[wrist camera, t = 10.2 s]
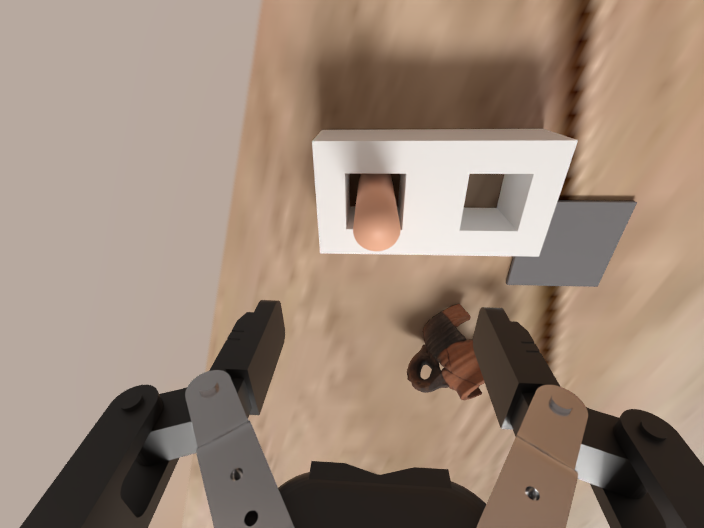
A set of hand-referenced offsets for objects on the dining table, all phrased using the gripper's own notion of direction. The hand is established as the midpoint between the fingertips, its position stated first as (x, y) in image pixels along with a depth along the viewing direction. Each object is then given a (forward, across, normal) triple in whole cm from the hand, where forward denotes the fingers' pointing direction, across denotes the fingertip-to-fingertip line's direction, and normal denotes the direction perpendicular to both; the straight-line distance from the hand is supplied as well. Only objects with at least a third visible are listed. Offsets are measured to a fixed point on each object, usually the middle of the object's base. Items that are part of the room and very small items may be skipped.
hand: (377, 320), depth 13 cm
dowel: (+18, 0, 0) cm, 19 cm away
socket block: (+18, -4, 0) cm, 19 cm away
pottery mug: (+19, -10, +19) cm, 28 cm away
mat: (+19, -18, +6) cm, 27 cm away
